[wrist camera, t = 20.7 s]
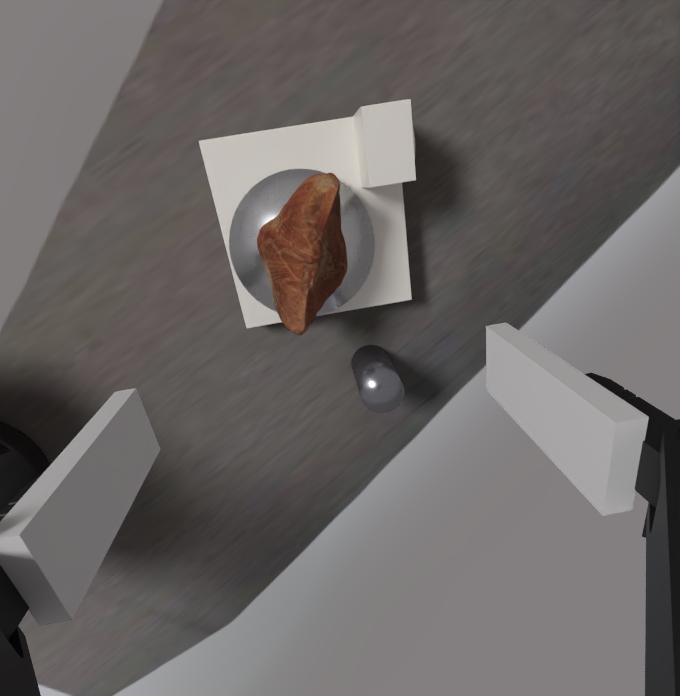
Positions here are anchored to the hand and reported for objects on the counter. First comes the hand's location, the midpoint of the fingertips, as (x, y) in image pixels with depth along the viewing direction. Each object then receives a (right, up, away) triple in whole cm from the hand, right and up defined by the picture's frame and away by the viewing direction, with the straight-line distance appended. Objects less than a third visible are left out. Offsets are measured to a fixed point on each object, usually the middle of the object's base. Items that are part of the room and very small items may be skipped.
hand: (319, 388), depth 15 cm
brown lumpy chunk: (-3, +11, +24) cm, 26 cm away
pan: (-3, +12, +25) cm, 28 cm away
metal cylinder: (+4, 0, +34) cm, 34 cm away
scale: (-2, +14, +27) cm, 31 cm away
